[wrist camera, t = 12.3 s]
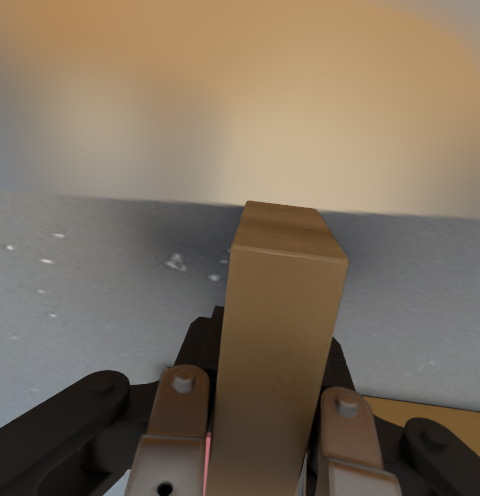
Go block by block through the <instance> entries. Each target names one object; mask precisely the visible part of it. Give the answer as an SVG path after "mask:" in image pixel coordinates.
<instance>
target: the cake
mask: <svg viewBox="0 0 480 496" xmlns="http://www.w3.org/2000/svg"><path fill="white" fill-rule="evenodd" d="M362 397H364V398H365V399H366V400H367V402H368V403H369V405H370V406H371V409H372V413H373V414H374V415H376V416H378V417H379V418H381V419H384V420H386V421H389V422H391V423H394V424H396V425H399V426H401V427H404V426H405V424H406V422H407V421H408V420H409V419H411V418H415V417H422V418H427V419H430V420H433V421H436V422H438V423H440V424H441V425H443V426H445V427H446V428H448V429H449V430H450V431H451V432H453V433H454V434H455V435H456V436H457V437H458V438H459V439H461V440H462V441H463V442H464V443H465V444H466V445H467V446H468V447H469V448H471V449H472V450H473V451H474V452H475V453H476V454H477V455H478V456H480V412H473V411H466V410H459V409H452V408H444V407H437V406H430V405H423V404H416V403H409V402H402V401H394V400H387V399H380V398H373V397H366V396H362Z"/></svg>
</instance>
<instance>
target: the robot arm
mask: <svg viewBox="0 0 480 496" xmlns="http://www.w3.org/2000/svg"><path fill="white" fill-rule="evenodd" d="M224 308H225V307H223V306H215V308H214V312H213V315H212V318H206V317H198V318H197V319H196V320H195V321H193V322H192V323H191V324H190V327H189V329H188V332H187V334H186V337H185V339H184V342H183V344H182V346H181V349H180V351H179V354H178V356H177V359H176V361H175V364H174V366H173V367H171V368H169V369H167V370H166V371H165V372H164V373H163V374H162V375H161V378H160V380H159V381H156V382H153V383H148V384H140V385H130V383H129V380H128V378H127V377H126V376H125V375H124V374H122V373H120V372H117V371H112V370H104V371H98V372H95V373H92V374H89V375H88V376H86V377H84V378H82V379H81V380H79V381H77V382H76V383H74V384H72V385H71V386H69V387H67V388H66V389H64V390H62V391H61V392H59V393H57V394H56V395H54V396H53V397H51V398H49V399H48V400H46V401H44V402H43V403H41V404H39V405H38V406H36V407H34V408H33V409H31V410H29V411H28V412H26V413H24V414H23V415H21V416H19V417H18V418H16V419H14V420H13V421H11V422H10V423H8V424H6V425H5V426H3V427H1V428H0V496H103V495H104V494H105V493H106V492H107V491H108V490H109V489H110V488H111V487H112V486H113V485H114V484H115V483H116V482H117V481H118V480H119V479H120V478H121V477H122V476H123V475H124V474H125V472H126V471H127V470H128V469H131V472H130V475H129V479H128V483H127V486H126V490H125V494H124V496H203V489H204V473H205V456H206V438H207V433H208V432H210V433H211V430H212V420H213V411H214V402H215V392H216V383H217V374H218V364H219V355H220V346H221V336H222V327H223V318H224ZM343 355H344V354H343V351H342V348H341V345H340V344H339V343H338V342H337V340H336V339H335V338H334V337H333V336H332V341H331V345H330V349H329V354H328V358H327V363H326V367H325V371H324V376H323V380H322V384H321V389H320V393H319V398H318V402H317V406H316V411H315V415H314V420H313V424H312V428H311V433H310V437H309V441H308V446H307V450H306V452H307V458H306V462H305V466H304V483H303V496H480V456H478V455H477V454H476V453H475V452H474V451H473V450H472V449H471V448H469V447H468V446H467V445H466V444H465V443H464V442H463V441H462V440H461V439H459V438H458V437H457V436H456V435H455V434H454V433H453V432H451V431H450V430H449V429H448V428H446V427H445V426H443V425H441V424H440V423H438V422H436V421H433V420H430V419H427V418H422V417H415V418H411V419H409V420H408V421H407V422H406V424H405V426H404V427H401V426H399V425H396V424H394V423H391V422H389V421H386V420H384V419H381V418H379V417H378V416H376V415H374V414H373V413H372V409H371V406H370V405H369V403H368V402H367V400H366V399H365V398H364V397H362V396H361V395H360V394H358V393H357V392H356V391H355V388H354V385H353V382H352V379H351V376H350V373H349V370H348V366H347V365H346V360H345V357H344V356H343Z"/></svg>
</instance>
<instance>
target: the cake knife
mask: <svg viewBox="0 0 480 496" xmlns="http://www.w3.org/2000/svg"><path fill="white" fill-rule="evenodd" d="M348 266H349V260H348V258H347V257H346V255H345V253H344V252H343V250H342V249H341V247H340V246H339V244H338V242H337V241H336V239H335V238H334V236H333V235H332V233H331V231H330V230H329V228H328V227H327V225H326V224H325V222H324V220H323V219H322V217H321V216H320V214H319V213H318V211H317V210H316V209H312V208H304V207H296V206H288V205H280V204H271V203H264V202H255V201H247V202H246V205H245V208H244V210H243V213H242V216H241V219H240V222H239V225H238V228H237V231H236V234H235V237H234V240H233V243H232V246H231V252H230V262H229V271H228V280H227V290H226V299H225V308H224V318H223V327H222V336H221V346H220V355H219V364H218V374H217V383H216V392H215V402H214V411H213V420H212V430H211V439H210V448H209V458H208V467H207V476H206V486H205V495H204V496H296V494H297V490H298V485H299V481H300V477H301V472H302V468H303V463H304V459H305V455H306V450H307V446H308V441H309V437H310V433H311V428H312V424H313V420H314V415H315V411H316V406H317V402H318V398H319V393H320V389H321V384H322V380H323V376H324V371H325V367H326V363H327V358H328V354H329V349H330V345H331V341H332V336H333V332H334V327H335V323H336V319H337V314H338V310H339V305H340V301H341V297H342V292H343V288H344V284H345V279H346V275H347V270H348Z"/></svg>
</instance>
